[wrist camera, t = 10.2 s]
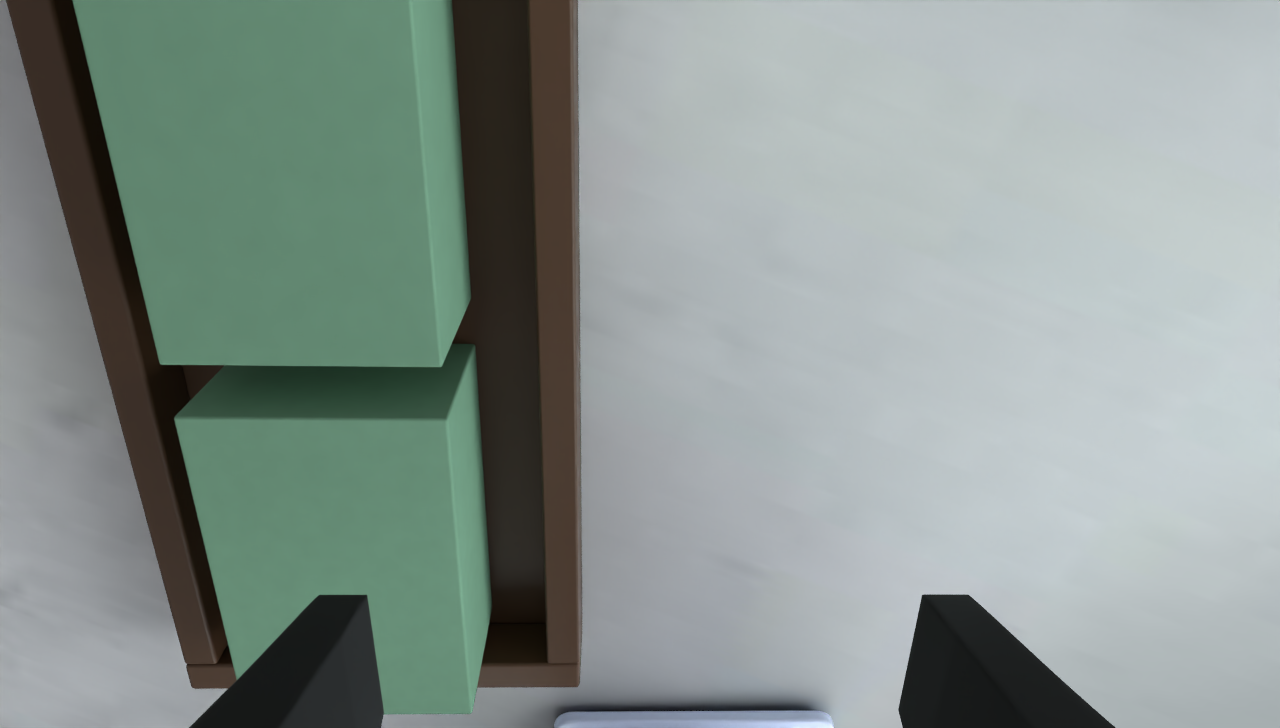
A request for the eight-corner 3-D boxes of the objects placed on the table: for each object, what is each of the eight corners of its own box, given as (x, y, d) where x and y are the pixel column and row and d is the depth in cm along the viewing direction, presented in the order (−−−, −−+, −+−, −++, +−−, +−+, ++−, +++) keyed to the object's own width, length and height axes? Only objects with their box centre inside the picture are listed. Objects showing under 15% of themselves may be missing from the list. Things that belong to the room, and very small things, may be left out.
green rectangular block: (471, 299, 18) (442, 368, 15) (237, 296, 18) (158, 365, 15) (446, -93, 15) (402, -108, 12) (162, -101, 15) (42, -118, 12)
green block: (492, 607, 22) (472, 714, 19) (297, 607, 22) (243, 716, 19) (475, 342, 19) (447, 419, 16) (247, 340, 19) (171, 417, 16)
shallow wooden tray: (582, 632, 23) (579, 688, 21) (224, 632, 23) (190, 690, 21) (576, -167, 15) (571, -185, 13) (28, -185, 15) (-53, -205, 13)
